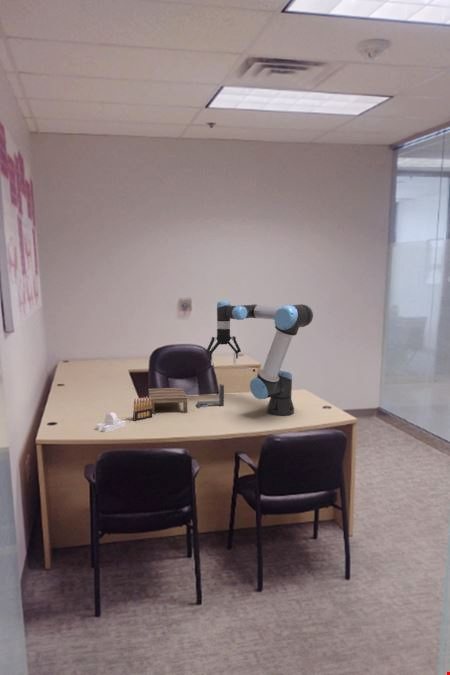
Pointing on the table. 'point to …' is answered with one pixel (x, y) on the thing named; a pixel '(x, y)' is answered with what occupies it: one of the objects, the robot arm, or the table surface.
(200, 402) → the hook tool
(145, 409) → the ammunition clip
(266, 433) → the table surface
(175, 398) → the bench
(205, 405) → the puck
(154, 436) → the table surface
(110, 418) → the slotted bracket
